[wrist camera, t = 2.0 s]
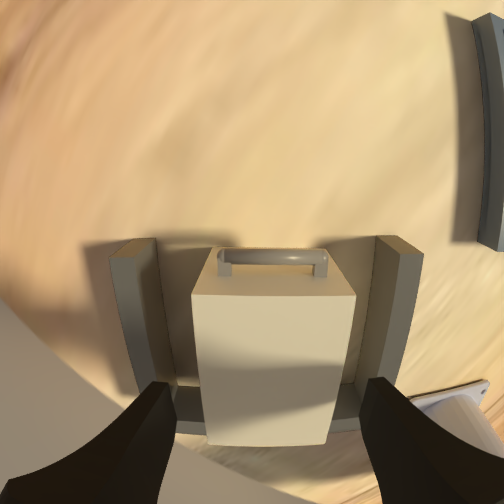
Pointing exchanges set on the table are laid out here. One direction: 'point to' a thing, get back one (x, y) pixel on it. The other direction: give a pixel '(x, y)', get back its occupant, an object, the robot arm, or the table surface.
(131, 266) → the dock
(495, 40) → the tray
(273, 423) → the box
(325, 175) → the table surface
